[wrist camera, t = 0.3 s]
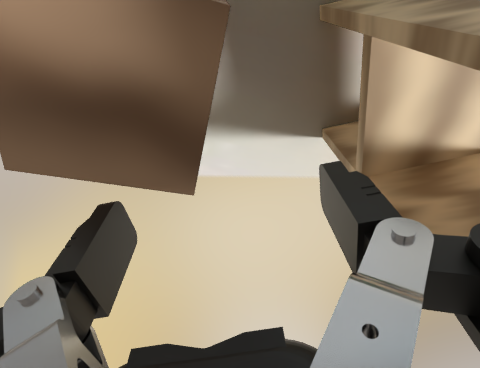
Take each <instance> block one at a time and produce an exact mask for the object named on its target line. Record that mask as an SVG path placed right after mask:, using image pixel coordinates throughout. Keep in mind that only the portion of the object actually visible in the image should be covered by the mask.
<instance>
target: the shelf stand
mask: <svg viewBox="0 0 480 368" xmlns="http://www.w3.org/2000/svg"><path fill="white" fill-rule="evenodd" d="M320 20H321V21H324V22H328V23H331V24H334V25H337V26H340V27H343V28H346V29H350V30H353V31H356V32H359V33H362V34H364V37H363V54H362V71H361V88H360V105H359V121H356V122H351V123H347V124H342V125H338V126H333V127H329V128H324V129H322V137H323V139H324V140H325V142H326V143H327V144H328V146H329V147H330V148H331V150H332V151H333V152H334V154H335V155H336V156H337V158H338V159H339V160H340V161H341V162H342V163H343V165H344V166H345V167H346V169H347V170H348V171H349V172H353V171H358V172H360V173H362V174H364V175H366V176H368V177H369V178H370V179H371V181H372V182H373V183H374V184H375V186H376V187H377V188H378V189H379V190H380V191H381V194H383V195H384V196H385V197H386V198H387V199H388V201H389V202H390V203H391V204H392V205H393V207H394V208H395V209H396V210H397V211H398V212H399V214H400V215H401V216H402V217H403V218H408V219H412V220H415V221H417V222H419V223H422V224H423V225H425V226H426V227H427V228H428V229H429V230H430V231H431V232H432V234H438V235H451V236H467V237H468V236H469V233H470V230H471V228H472V227H473V226H475V225H477V224H479V223H480V0H341V1H337V2H333V3H329V4H324V5H320Z"/></svg>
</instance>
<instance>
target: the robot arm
mask: <svg viewBox="0 0 480 368" xmlns="http://www.w3.org/2000/svg"><path fill="white" fill-rule="evenodd" d="M319 174H320V193H321V194H320V195H321V203H322V208H323V211H324V214H325V216H326V218H327V220H328V222H329V224H330V226H331V228H332V230H333V232H334V234H335V236H336V239H337V241H338V243H339V245H340V247H341V249H342V251H343V253H344V255H345V257H346V260H347V262H348V264H349V266H350V268H351V270H352V272H353V273H352V274H351V275H350V276H349V278H348V281H347V283H346V285H345V288H344V290H343V292H342V294H341V297H340V299H339V301H338V304H337V306H336V308H335V310H334V313H333V316H332V318H331V320H330V322H329V324H328V327H327V329H326V331H325V334H324V336H323V338H322V341H321V343H320V345H319V348H318V349H316V348H314V347H312V346H310V345H307V344H305V343H302V342H298V341H295V340H288V339H285V337H284V332H283V327H279V328H272V329H264V330H258V331H251V332H244V333H242V334H239V335H237V336H235V337H232V338H230V339H228V340H225V341H223V342H220V343H218V344H215V345H213V346H211V347H208V348H202V349H201V348H194V347H186V346H180V345H173V344H162V345H155V346H149V347H142V348H135V349H131V352H130V355H129V359H128V363H127V364H125V365H123V366H121V367H119V368H411V363H412V357H413V352H414V347H415V342H416V337H417V331H418V325H419V321H420V315H421V310H422V309H427V310H434V311H441V312H448V313H454V314H455V316H456V317H457V319H458V320H459V322H460V323H461V324H462V326H463V328H464V329H465V331H466V332H467V334H468V335H469V336H470V338H471V339H472V341H473V342H474V344H475V345H476V347H477V348H478V350H479V351H480V223H479V224H477V225H475V226H473V227H472V228H471V230H470V233H469V236H468V237H467V236H451V235H438V234H432V232H431V231H430V230H429V229H428V228H427V227H426V226H425V225H423V224H422V223H419V222H417V221H415V220H412V219H408V218H403V217H402V216H401V215H400V214H399V212H398V211H397V210H396V209H395V208H394V207H393V205H392V204H391V203H390V202H389V201H388V199H387V198H386V197H385V196H384V195H383V194H381V191H380V190H379V189H378V188H377V187H376V186H375V184H374V183H373V182H372V181H371V179H370V178H369V177H368V176H366V175H364V174H362V173H360V172H358V171H353V172H349V171H348V170H347V169H346V167H345V166H344V165H343V163H342V162H341V161H336V162H331V163H325V164H321V165H320V167H319ZM136 244H137V234H136V230H135V228H134V226H133V224H132V222H131V220H130V218H129V217H128V214H127V212H126V210H125V208H124V206H123V205H122V204H121V202H119V201H116V202H110V203H105V204H100V205H98V206H97V208H96V209H95V210H94V212H93V213H92V215H91V216H90V218H89V219H87V220H86V221H85V222H84V223H83V224H82V225H81V226H80V227H78V228H77V230H76V231H75V233H74V234H73V235H72V237H71V240H69V241H68V243H67V244H66V246H65V248H64V249H63V250H62V251H61V253H60V254H59V256H58V257H57V259H56V260H55V262H54V263H53V264H52V266H51V268H50V269H49V270H48V272H47V273H46V275H45V276H43V277H39V278H36V279H33V280H31V281H29V282H27V283H26V284H24V285H23V286H21V287H20V288H18V289H17V290H16V291H15V292H14V293H13V294H12V295H11V296H10V297H9V298H8V300H7V301H6V303H5V305H4V307H1V308H0V368H109V367H108V365H107V362H106V359H105V357H104V354H103V351H102V349H101V346H100V343H99V340H98V338H97V335H96V333H95V330H94V329H93V327H92V326H91V324H92V322H93V319H96V318H102V317H108V316H109V314H110V312H111V309H112V306H113V304H114V301H115V299H116V296H117V293H118V291H119V288H120V286H121V283H122V281H123V278H124V276H125V273H126V270H127V268H128V265H129V263H130V260H131V258H132V255H133V252H134V249H135V247H136Z"/></svg>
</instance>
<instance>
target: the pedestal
mask: <svg viewBox="0 0 480 368" xmlns="http://www.w3.org/2000/svg"><path fill="white" fill-rule="evenodd" d="M229 11H230V5H229V4H228V3H227V2H226V1H225V0H0V153H1V157H2V161H3V165H4V169H5V170H11V171H18V172H26V173H33V174H40V175H48V176H55V177H63V178H70V179H77V180H84V181H92V182H100V183H106V184H114V185H121V186H129V187H136V188H143V189H151V190H158V191H165V192H172V193H180V194H187V195H194V192H195V187H196V182H197V176H198V171H199V166H200V161H201V156H202V151H203V145H204V140H205V135H206V130H207V125H208V120H209V115H210V109H211V104H212V99H213V94H214V89H215V84H216V78H217V73H218V68H219V63H220V58H221V53H222V47H223V42H224V37H225V32H226V27H227V22H228V16H229Z"/></svg>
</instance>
